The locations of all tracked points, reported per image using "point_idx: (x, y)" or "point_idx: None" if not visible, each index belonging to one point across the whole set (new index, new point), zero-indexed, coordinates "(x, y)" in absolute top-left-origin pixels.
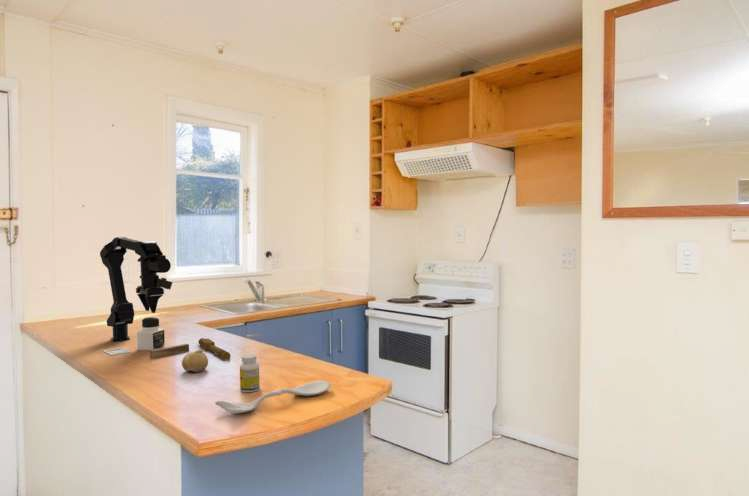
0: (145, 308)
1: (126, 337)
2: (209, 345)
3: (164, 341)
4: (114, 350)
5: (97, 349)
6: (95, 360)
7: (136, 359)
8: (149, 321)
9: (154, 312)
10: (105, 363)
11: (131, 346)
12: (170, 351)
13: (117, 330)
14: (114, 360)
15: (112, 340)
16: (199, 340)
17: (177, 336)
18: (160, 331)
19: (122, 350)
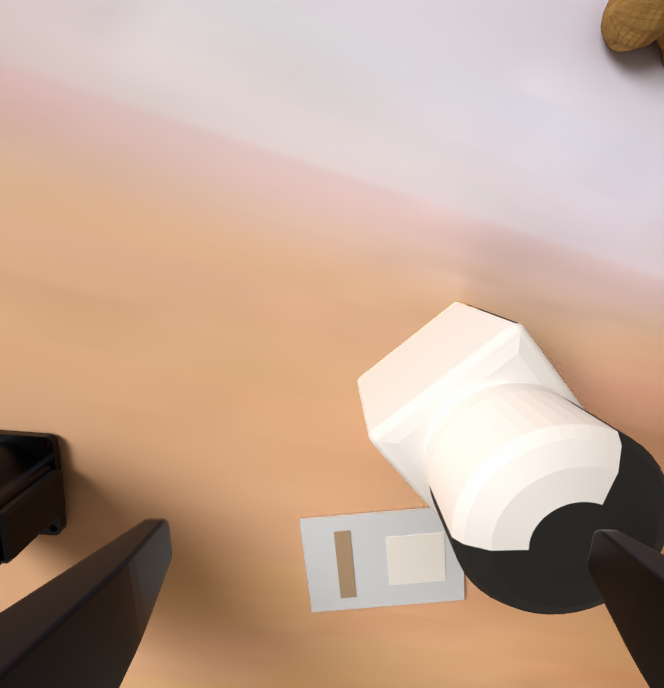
0: (151, 612)
1: (26, 457)
2: None
3: (473, 307)
4: (359, 567)
5: (250, 622)
6: (513, 661)
7: None
8: None
9: (618, 543)
10: (615, 638)
11: (292, 468)
12: None
13: (5, 560)
14: None
15: (51, 532)
16: (656, 32)
17: (127, 92)
18: (553, 370)
19: (397, 537)
